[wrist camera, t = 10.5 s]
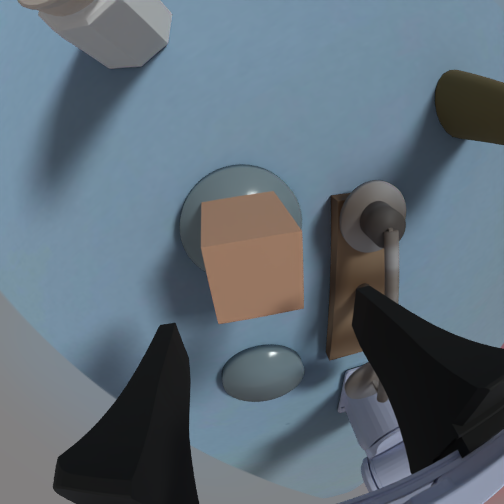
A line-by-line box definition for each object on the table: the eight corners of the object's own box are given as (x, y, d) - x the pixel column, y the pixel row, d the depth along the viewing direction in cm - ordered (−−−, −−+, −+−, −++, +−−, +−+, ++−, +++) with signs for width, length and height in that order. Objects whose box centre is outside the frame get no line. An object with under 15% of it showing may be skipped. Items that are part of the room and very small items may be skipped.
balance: (369, 347, 29) (402, 407, 22) (324, 360, 29) (351, 426, 22) (391, 171, 20) (469, 213, 13) (329, 176, 20) (395, 226, 12)
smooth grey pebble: (301, 385, 30) (303, 392, 30) (229, 399, 30) (230, 406, 29) (301, 336, 26) (304, 344, 26) (214, 353, 26) (215, 361, 25)
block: (278, 253, 21) (303, 308, 16) (213, 264, 20) (218, 324, 15) (273, 191, 19) (302, 231, 13) (201, 202, 18) (201, 247, 13)
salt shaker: (102, 85, 14) (-7, 82, 5) (81, 17, 12) (-20, -31, 2) (184, 50, 14) (157, -14, 5) (161, -18, 12) (124, -116, 2)
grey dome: (300, 262, 23) (303, 269, 22) (194, 281, 22) (193, 289, 21) (294, 157, 19) (298, 160, 18) (169, 176, 18) (167, 180, 17)
